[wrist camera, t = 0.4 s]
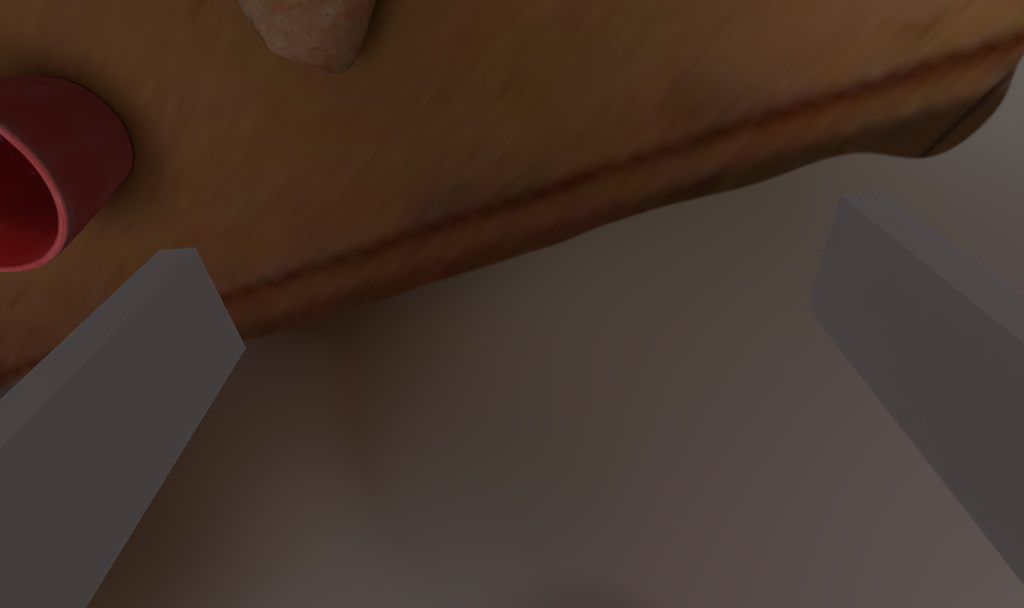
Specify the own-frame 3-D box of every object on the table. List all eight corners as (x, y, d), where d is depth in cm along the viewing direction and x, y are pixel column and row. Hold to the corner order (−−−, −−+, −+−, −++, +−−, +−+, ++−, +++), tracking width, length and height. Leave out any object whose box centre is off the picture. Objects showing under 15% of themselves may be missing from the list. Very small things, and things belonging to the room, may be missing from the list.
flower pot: (-37, 23, 32) (-214, 53, 24) (155, 83, 34) (49, 129, 26) (0, 178, 38) (-133, 243, 30) (162, 222, 40) (77, 293, 32)
